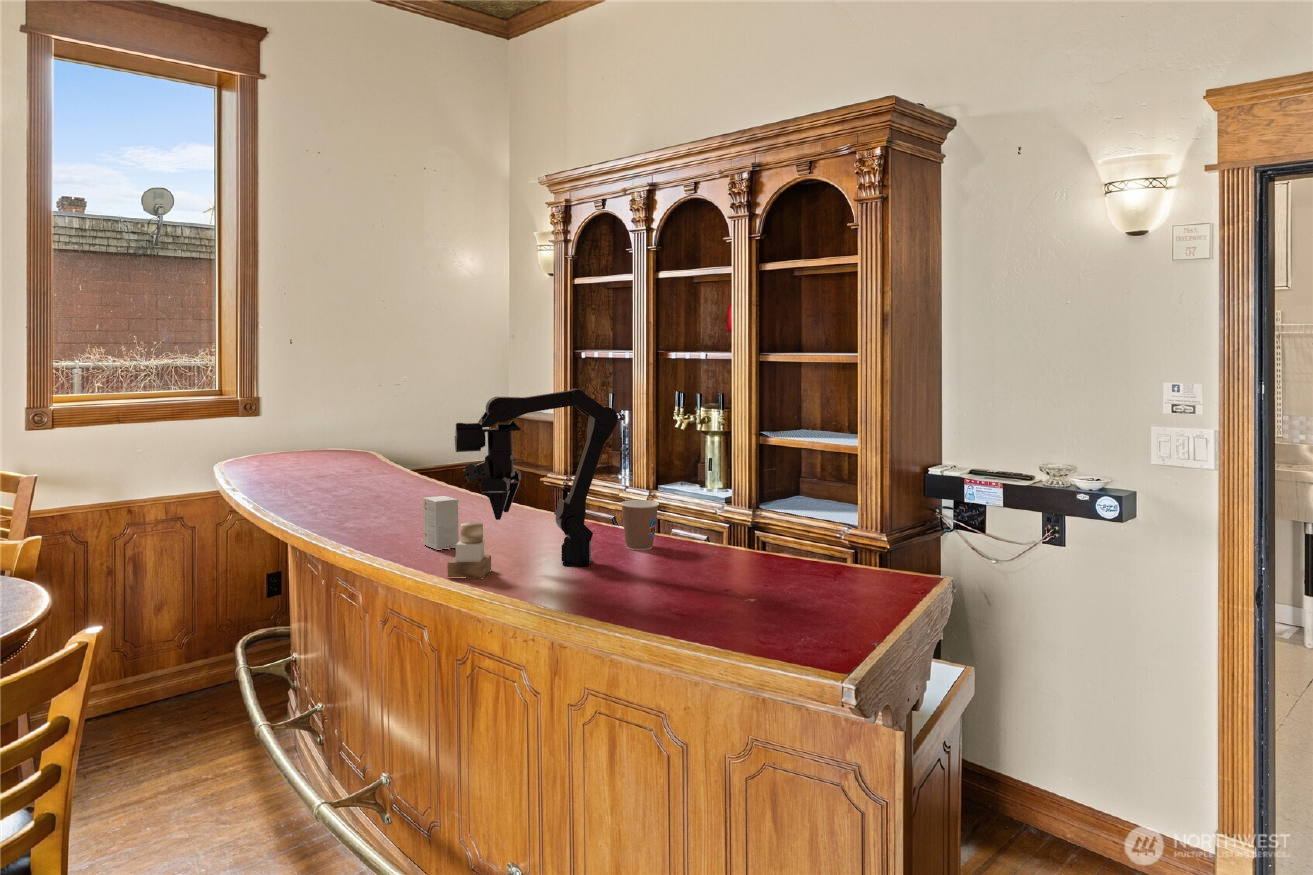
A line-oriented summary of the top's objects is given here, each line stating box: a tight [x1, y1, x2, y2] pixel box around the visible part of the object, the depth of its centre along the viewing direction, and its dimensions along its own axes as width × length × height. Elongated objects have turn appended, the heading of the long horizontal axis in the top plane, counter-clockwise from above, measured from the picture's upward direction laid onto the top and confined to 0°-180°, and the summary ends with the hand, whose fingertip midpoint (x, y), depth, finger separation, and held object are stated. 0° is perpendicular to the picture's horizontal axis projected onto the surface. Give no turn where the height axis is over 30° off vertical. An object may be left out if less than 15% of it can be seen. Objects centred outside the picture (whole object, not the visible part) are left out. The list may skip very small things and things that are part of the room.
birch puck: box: [460, 521, 484, 544], centre depth 191 cm, size 5×5×4 cm
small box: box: [423, 495, 460, 549], centre depth 219 cm, size 8×6×13 cm
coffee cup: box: [620, 499, 660, 551], centre depth 222 cm, size 10×10×12 cm
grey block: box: [455, 539, 485, 562], centre depth 191 cm, size 6×6×4 cm
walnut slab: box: [447, 554, 492, 579], centre depth 192 cm, size 8×8×4 cm
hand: (502, 515), depth 197 cm, fingers open, 9 cm apart
